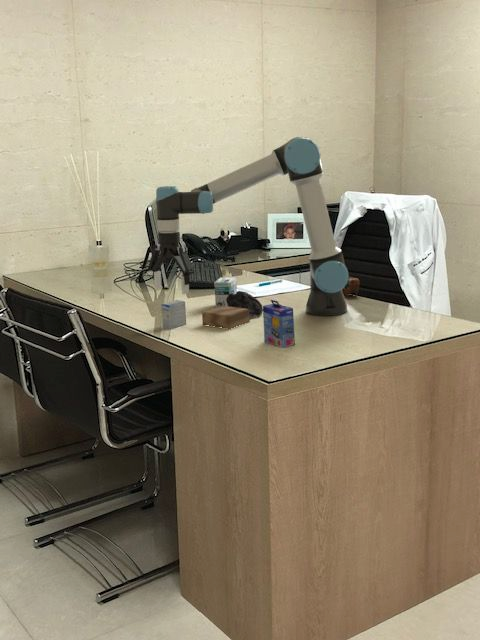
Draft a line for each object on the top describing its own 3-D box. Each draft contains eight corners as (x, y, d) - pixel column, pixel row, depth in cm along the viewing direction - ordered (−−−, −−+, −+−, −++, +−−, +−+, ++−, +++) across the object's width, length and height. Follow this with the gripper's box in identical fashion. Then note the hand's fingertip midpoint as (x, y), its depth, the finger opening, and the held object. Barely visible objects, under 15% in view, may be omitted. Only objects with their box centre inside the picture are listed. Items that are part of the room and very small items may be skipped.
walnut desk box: (249, 322, 285) (249, 308, 284) (229, 330, 276) (229, 315, 275) (223, 319, 292) (222, 305, 291) (202, 326, 283) (202, 312, 281)
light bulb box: (232, 309, 305) (230, 282, 302) (215, 309, 306) (213, 282, 304) (237, 303, 315) (236, 277, 313) (221, 303, 316) (220, 277, 314)
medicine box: (177, 322, 288) (176, 299, 286) (186, 324, 285) (185, 300, 283) (162, 327, 282) (160, 303, 280) (171, 329, 279) (169, 305, 277)
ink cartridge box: (263, 342, 258) (261, 298, 255) (276, 339, 261) (275, 295, 258) (281, 348, 250) (280, 303, 247) (295, 345, 253) (294, 300, 250)
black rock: (270, 314, 298) (269, 288, 297) (253, 319, 287) (251, 292, 285) (240, 314, 305) (238, 288, 304) (221, 319, 293) (219, 292, 292)
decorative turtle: (352, 299, 314) (350, 279, 312) (326, 296, 326) (324, 277, 324) (369, 294, 319) (367, 275, 318) (343, 291, 331) (341, 273, 330)
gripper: (202, 232, 271) (205, 293, 276) (151, 228, 286) (154, 285, 291) (187, 235, 265) (190, 297, 270) (136, 230, 281) (139, 289, 286)
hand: (171, 291), depth 281 cm, fingers open, 13 cm apart
